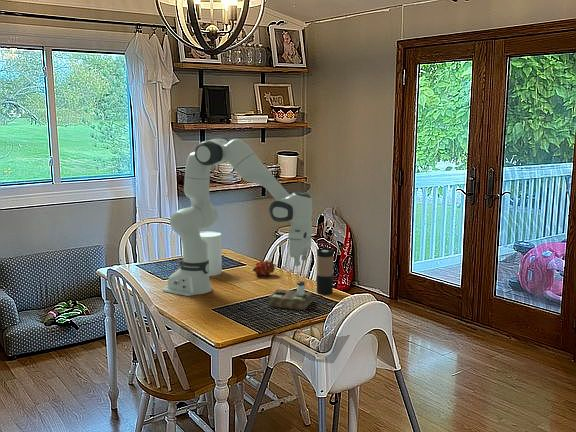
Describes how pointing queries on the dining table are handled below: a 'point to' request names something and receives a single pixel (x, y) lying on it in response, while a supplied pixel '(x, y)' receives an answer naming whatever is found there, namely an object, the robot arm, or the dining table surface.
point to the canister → (213, 251)
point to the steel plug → (301, 289)
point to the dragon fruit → (264, 268)
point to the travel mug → (325, 271)
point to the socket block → (289, 299)
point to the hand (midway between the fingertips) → (300, 262)
